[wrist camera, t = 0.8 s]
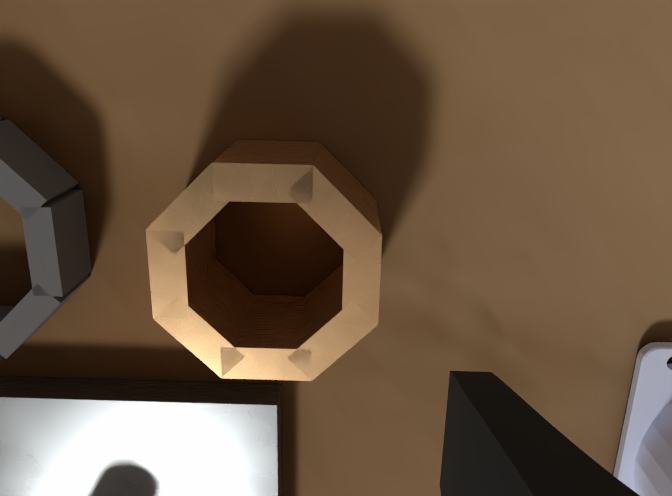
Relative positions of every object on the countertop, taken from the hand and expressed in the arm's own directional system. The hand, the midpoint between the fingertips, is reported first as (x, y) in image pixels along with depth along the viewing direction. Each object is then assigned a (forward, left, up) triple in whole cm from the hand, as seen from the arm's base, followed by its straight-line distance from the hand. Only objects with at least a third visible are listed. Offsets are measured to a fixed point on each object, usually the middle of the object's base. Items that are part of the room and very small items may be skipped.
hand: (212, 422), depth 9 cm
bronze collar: (0, 0, -9) cm, 9 cm away
